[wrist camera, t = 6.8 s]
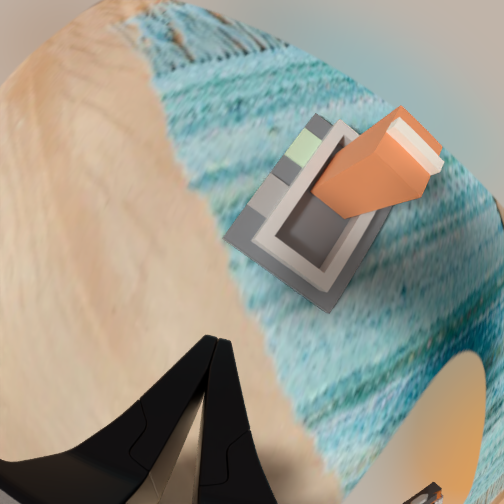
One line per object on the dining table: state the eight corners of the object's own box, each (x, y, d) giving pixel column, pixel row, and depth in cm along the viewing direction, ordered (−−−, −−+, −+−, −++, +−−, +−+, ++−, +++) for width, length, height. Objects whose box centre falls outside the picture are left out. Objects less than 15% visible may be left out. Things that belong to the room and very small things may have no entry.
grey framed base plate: (325, 312, 24) (337, 316, 22) (222, 238, 23) (224, 236, 21) (397, 188, 26) (412, 183, 24) (312, 116, 25) (322, 105, 22)
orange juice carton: (344, 219, 24) (430, 194, 14) (309, 191, 23) (382, 147, 13) (366, 181, 24) (451, 143, 14) (334, 154, 24) (408, 99, 14)
